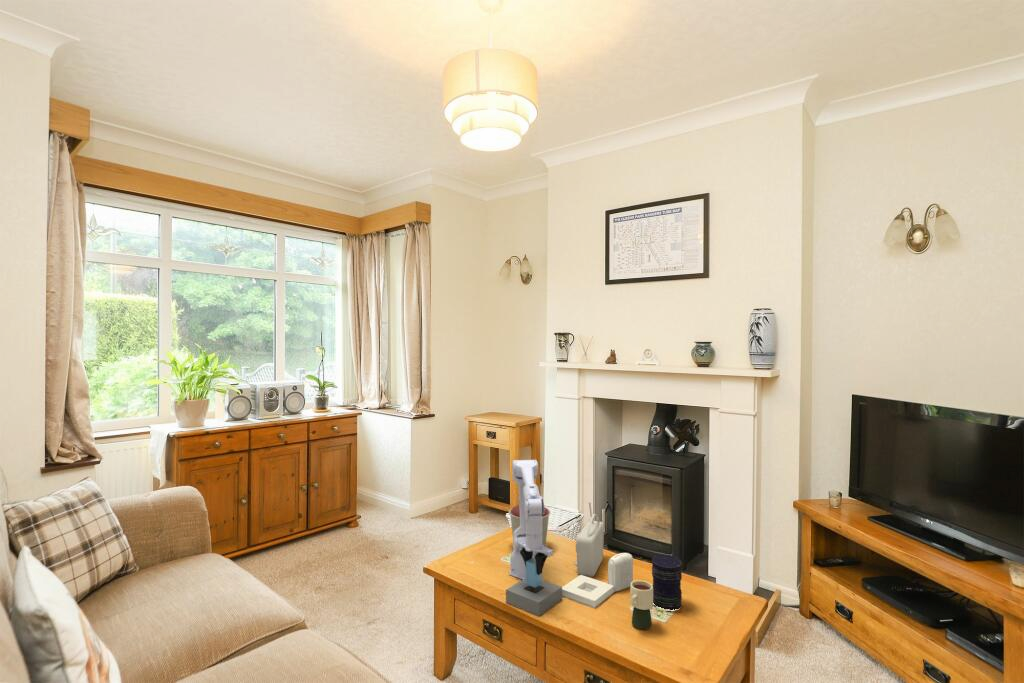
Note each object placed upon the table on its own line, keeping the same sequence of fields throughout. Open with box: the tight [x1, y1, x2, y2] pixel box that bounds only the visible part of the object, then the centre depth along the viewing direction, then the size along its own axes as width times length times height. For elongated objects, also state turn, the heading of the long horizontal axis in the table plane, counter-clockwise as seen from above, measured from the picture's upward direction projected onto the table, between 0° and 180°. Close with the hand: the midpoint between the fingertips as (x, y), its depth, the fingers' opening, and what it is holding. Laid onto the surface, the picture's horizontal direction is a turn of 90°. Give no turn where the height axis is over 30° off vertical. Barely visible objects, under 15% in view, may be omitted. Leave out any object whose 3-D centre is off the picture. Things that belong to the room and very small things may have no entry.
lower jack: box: [561, 574, 615, 609], centre depth 186 cm, size 14×14×2 cm
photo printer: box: [607, 552, 634, 593], centre depth 191 cm, size 10×4×12 cm, turn 123°
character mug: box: [629, 579, 654, 630], centre depth 166 cm, size 11×7×13 cm, turn 135°
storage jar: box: [651, 554, 683, 610], centre depth 179 cm, size 10×10×15 cm
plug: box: [526, 558, 543, 588], centre depth 182 cm, size 4×5×8 cm
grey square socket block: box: [505, 578, 563, 617], centre depth 181 cm, size 14×14×4 cm
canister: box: [508, 504, 551, 546], centre depth 226 cm, size 18×18×21 cm
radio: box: [574, 501, 605, 577], centre depth 209 cm, size 22×8×25 cm, turn 159°
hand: (534, 571), depth 181 cm, fingers closed on plug, 4 cm apart
